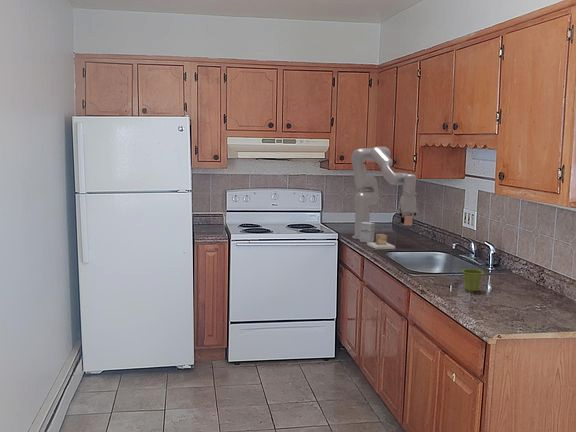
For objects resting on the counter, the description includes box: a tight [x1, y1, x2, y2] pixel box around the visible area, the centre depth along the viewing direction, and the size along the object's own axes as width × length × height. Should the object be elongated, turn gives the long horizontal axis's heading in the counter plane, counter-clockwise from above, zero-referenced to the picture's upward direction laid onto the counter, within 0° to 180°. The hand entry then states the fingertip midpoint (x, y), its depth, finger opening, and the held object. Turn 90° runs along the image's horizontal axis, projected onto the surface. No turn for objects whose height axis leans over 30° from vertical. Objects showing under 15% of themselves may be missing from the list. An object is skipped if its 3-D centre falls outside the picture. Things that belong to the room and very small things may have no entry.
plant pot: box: [461, 268, 484, 292], centre depth 278 cm, size 9×9×9 cm
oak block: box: [375, 233, 388, 245], centre depth 382 cm, size 5×5×6 cm
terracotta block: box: [400, 214, 414, 226], centre depth 380 cm, size 5×5×6 cm
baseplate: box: [366, 241, 396, 250], centre depth 382 cm, size 14×13×2 cm
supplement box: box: [359, 221, 376, 244], centre depth 398 cm, size 7×7×13 cm
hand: (406, 223), depth 380 cm, fingers closed on terracotta block, 5 cm apart
